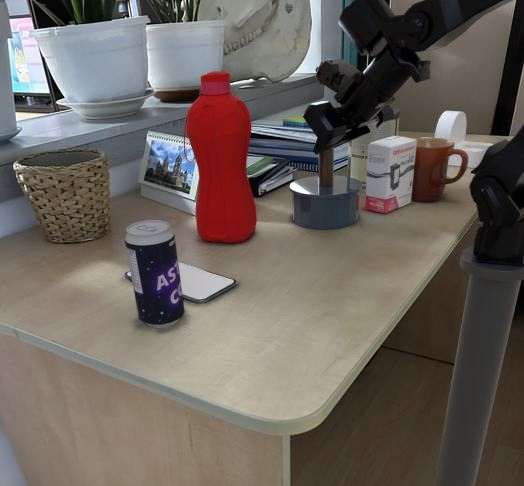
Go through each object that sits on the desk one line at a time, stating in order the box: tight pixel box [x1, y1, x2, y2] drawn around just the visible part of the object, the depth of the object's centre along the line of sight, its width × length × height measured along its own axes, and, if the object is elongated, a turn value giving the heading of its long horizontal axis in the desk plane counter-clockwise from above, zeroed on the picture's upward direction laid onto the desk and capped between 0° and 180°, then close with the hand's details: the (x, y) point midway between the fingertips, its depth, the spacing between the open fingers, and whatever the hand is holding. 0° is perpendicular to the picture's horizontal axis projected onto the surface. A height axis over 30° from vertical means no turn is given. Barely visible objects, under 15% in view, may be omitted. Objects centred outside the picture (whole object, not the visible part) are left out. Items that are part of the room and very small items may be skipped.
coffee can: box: [346, 107, 401, 188], centre depth 114 cm, size 10×10×14 cm
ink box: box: [364, 135, 417, 214], centre depth 99 cm, size 8×5×12 cm, turn 134°
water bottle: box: [183, 70, 258, 244], centre depth 86 cm, size 9×11×25 cm
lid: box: [289, 147, 363, 199], centre depth 93 cm, size 13×13×10 cm
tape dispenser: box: [421, 110, 494, 169], centre depth 128 cm, size 10×18×11 cm, turn 51°
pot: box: [291, 192, 360, 230], centre depth 97 cm, size 12×12×5 cm
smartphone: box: [124, 261, 238, 304], centre depth 77 cm, size 8×1×16 cm
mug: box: [411, 137, 468, 203], centre depth 102 cm, size 12×9×10 cm
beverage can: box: [124, 219, 186, 329], centre depth 65 cm, size 6×6×12 cm
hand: (319, 150), depth 93 cm, fingers closed on lid, 3 cm apart
